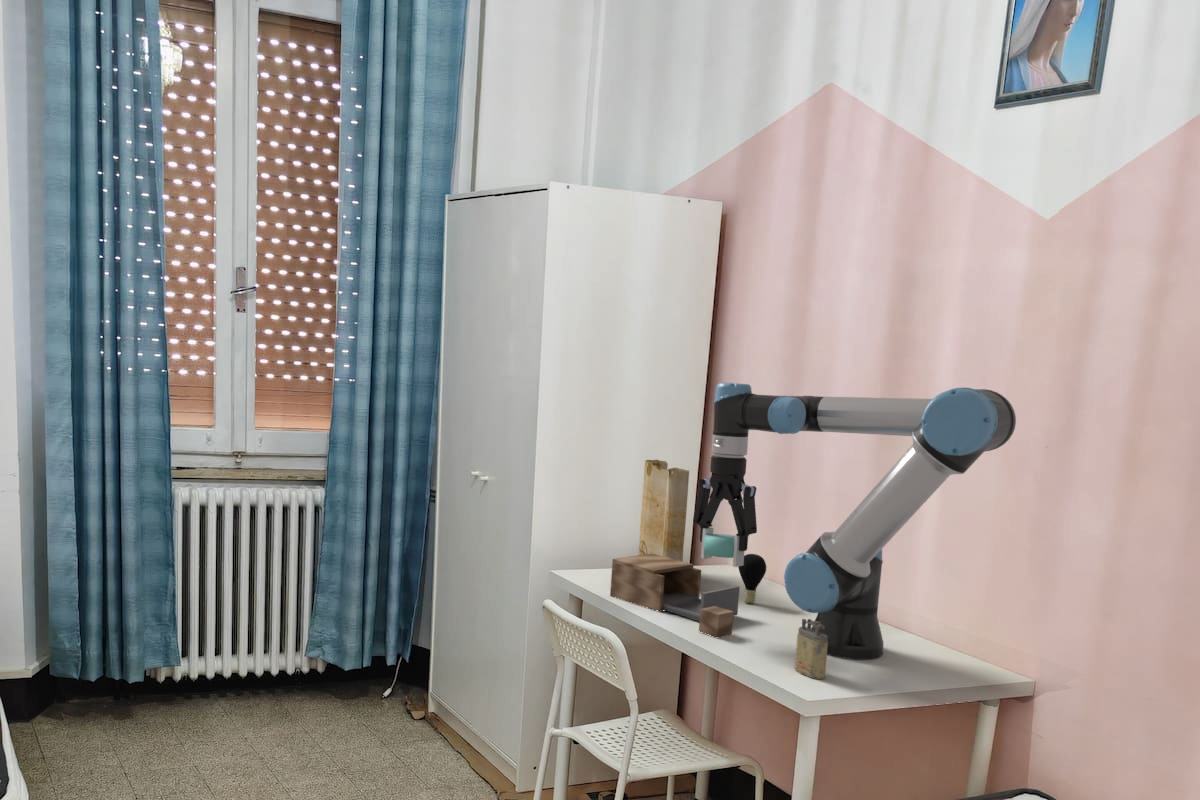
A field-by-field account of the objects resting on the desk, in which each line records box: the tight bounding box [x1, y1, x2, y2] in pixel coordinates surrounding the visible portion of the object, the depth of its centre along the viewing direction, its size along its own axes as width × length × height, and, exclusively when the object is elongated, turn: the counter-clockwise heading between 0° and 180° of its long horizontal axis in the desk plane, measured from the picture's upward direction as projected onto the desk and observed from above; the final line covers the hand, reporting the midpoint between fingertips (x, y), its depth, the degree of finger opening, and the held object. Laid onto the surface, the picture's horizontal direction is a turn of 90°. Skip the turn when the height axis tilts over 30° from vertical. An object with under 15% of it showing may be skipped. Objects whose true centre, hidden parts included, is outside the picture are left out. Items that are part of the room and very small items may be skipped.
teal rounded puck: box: [704, 533, 735, 559], centre depth 208 cm, size 8×8×4 cm
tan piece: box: [638, 459, 690, 562], centre depth 258 cm, size 23×6×30 cm, turn 13°
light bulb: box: [738, 553, 767, 604], centre depth 237 cm, size 7×7×12 cm
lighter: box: [793, 618, 828, 680], centre depth 186 cm, size 7×4×10 cm, turn 28°
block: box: [698, 606, 734, 638], centre depth 209 cm, size 5×5×5 cm
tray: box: [662, 585, 740, 622], centre depth 226 cm, size 18×13×6 cm
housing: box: [609, 553, 702, 612], centre depth 234 cm, size 16×14×9 cm
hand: (721, 561), depth 208 cm, fingers closed on teal rounded puck, 8 cm apart
